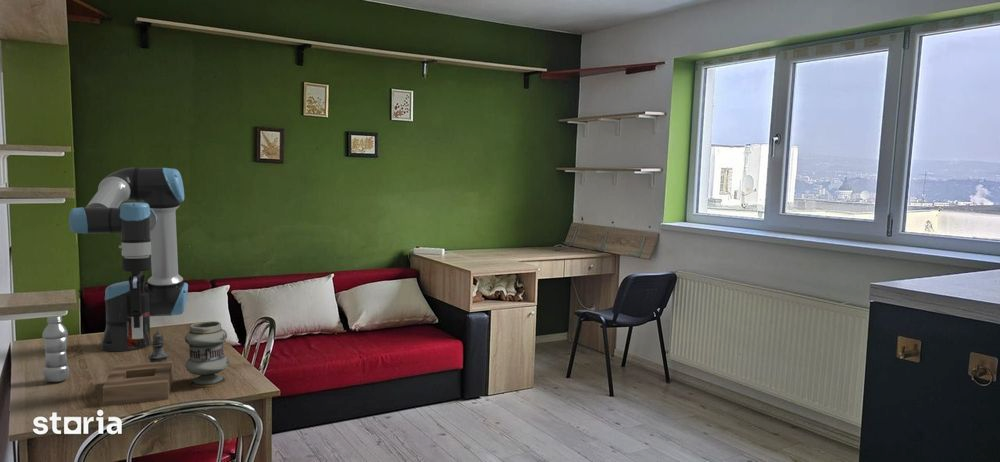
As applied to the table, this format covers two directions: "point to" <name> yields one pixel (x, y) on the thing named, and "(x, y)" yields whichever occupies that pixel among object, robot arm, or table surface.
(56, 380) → the plastic bottle
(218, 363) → the apothecary jar
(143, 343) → the deodorant
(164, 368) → the holder block
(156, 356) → the salt shaker
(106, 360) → the table surface
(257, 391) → the table surface
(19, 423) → the table surface
